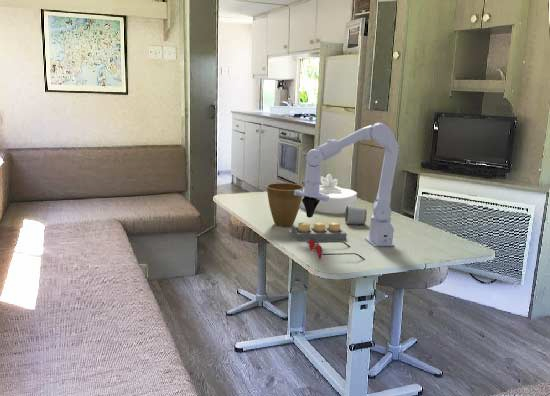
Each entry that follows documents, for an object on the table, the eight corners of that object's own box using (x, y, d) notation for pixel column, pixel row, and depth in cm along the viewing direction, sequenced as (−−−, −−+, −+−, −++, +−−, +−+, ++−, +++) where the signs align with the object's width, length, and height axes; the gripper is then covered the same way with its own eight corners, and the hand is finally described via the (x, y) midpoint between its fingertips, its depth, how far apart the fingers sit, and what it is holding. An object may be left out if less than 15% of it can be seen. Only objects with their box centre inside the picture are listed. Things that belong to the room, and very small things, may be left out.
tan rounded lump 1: (326, 232, 191) (326, 225, 190) (315, 232, 190) (315, 225, 189) (322, 229, 195) (323, 222, 194) (311, 229, 194) (312, 222, 193)
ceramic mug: (366, 226, 210) (368, 208, 209) (346, 225, 210) (348, 207, 208) (361, 220, 221) (362, 203, 219) (342, 219, 220) (344, 202, 219)
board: (346, 239, 191) (346, 233, 190) (297, 240, 186) (297, 234, 186) (335, 229, 203) (335, 224, 202) (289, 230, 199) (289, 224, 198)
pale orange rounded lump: (310, 232, 189) (311, 225, 189) (299, 233, 188) (300, 225, 188) (307, 229, 194) (308, 222, 193) (296, 229, 193) (297, 222, 192)
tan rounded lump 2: (341, 232, 192) (341, 225, 191) (330, 232, 191) (330, 225, 190) (337, 229, 196) (338, 222, 196) (326, 229, 195) (327, 222, 195)
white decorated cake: (340, 216, 226) (343, 180, 223) (291, 207, 239) (293, 173, 235) (361, 206, 248) (363, 173, 244) (315, 198, 260) (317, 167, 256)
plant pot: (294, 219, 216) (296, 182, 213) (306, 228, 202) (309, 189, 199) (260, 220, 211) (262, 182, 208) (271, 230, 198) (273, 190, 194)
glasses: (306, 248, 179) (307, 235, 178) (350, 247, 182) (351, 234, 181) (318, 262, 165) (319, 247, 164) (365, 260, 169) (366, 246, 168)
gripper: (334, 183, 187) (331, 218, 190) (302, 177, 196) (300, 211, 199) (324, 185, 182) (321, 222, 185) (291, 179, 190) (289, 214, 193)
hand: (309, 216), depth 191 cm, fingers closed
